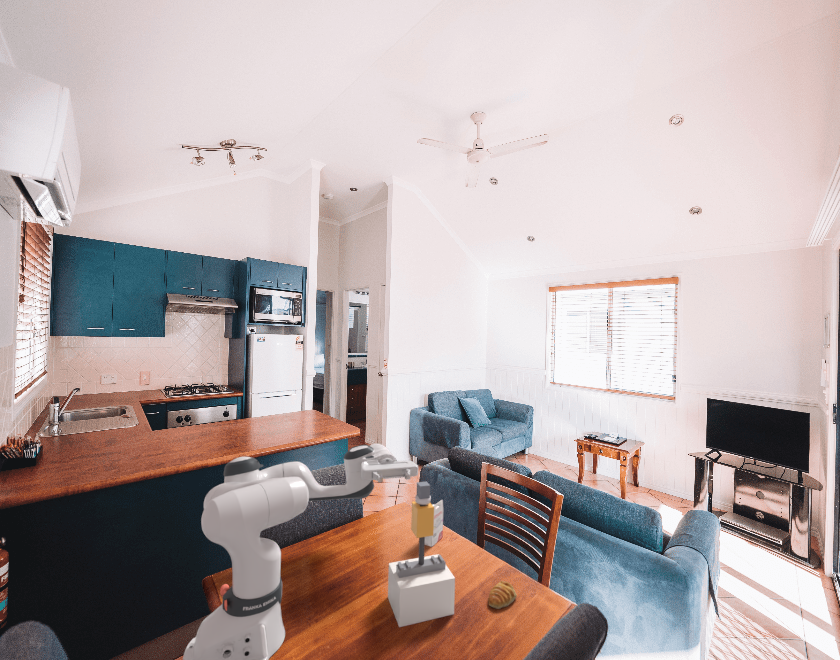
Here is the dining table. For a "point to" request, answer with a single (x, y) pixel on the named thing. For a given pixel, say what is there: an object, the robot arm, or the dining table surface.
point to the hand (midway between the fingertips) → (394, 478)
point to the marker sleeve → (422, 520)
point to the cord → (422, 499)
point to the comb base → (420, 590)
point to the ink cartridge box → (436, 525)
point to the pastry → (501, 595)
